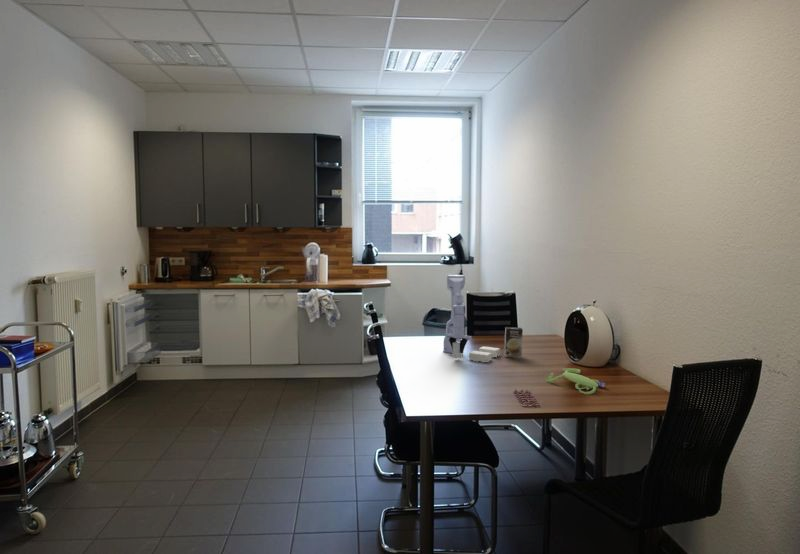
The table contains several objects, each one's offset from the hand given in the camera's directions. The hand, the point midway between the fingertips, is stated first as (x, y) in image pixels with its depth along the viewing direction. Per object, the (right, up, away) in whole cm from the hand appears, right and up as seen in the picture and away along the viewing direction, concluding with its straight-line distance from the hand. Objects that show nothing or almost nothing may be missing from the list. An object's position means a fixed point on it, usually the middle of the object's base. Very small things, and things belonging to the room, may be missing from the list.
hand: (457, 352), depth 295 cm
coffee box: (+31, -4, +11) cm, 34 cm away
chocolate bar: (+21, -11, -66) cm, 70 cm away
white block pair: (+16, -4, +8) cm, 18 cm away
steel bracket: (0, -3, 0) cm, 2 cm away
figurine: (+49, -10, -43) cm, 66 cm away
